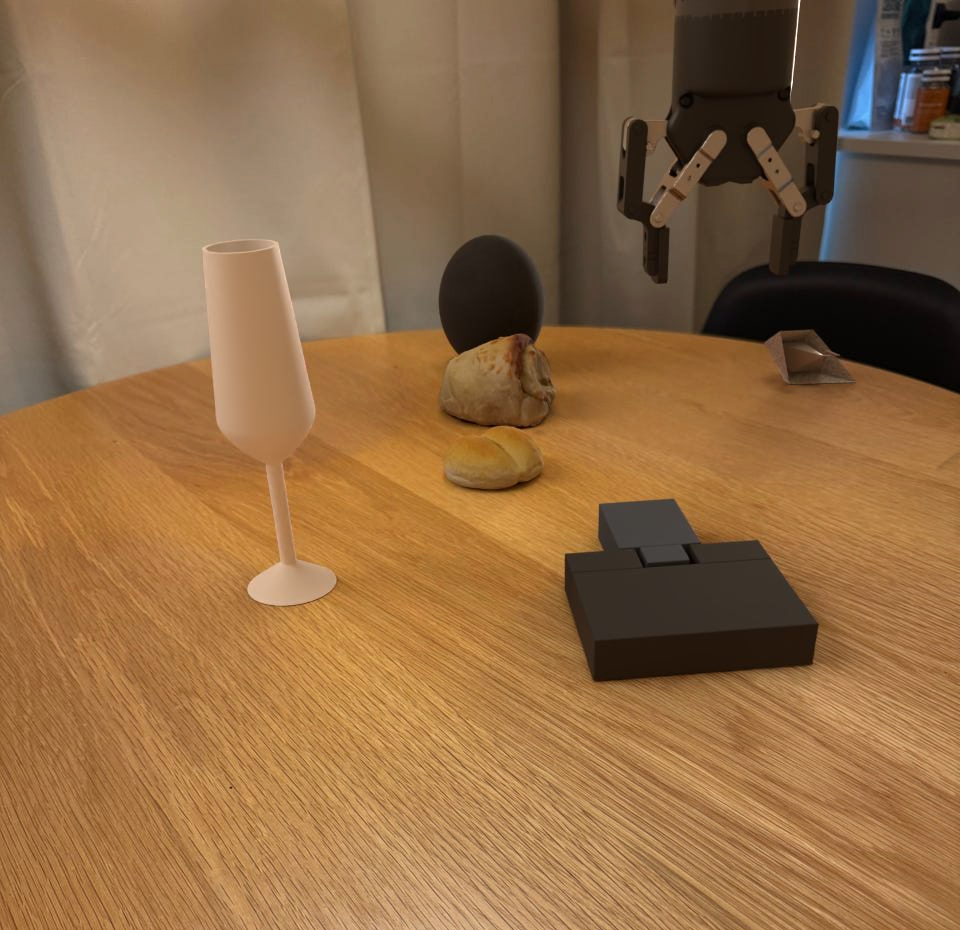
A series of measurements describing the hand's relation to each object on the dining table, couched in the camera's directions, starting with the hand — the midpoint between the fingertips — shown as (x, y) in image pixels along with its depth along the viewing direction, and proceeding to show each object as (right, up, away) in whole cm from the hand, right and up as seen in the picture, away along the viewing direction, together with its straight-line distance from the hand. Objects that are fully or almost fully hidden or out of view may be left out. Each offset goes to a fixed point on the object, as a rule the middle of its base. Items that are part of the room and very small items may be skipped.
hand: (718, 277), depth 71 cm
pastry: (-15, -1, +37) cm, 40 cm away
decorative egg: (-15, +7, +50) cm, 53 cm away
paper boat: (+19, +3, +40) cm, 45 cm away
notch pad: (-3, -24, -3) cm, 25 cm away
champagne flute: (-31, -21, +5) cm, 38 cm away
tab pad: (-4, -20, +5) cm, 21 cm away
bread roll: (-16, -10, +22) cm, 29 cm away
